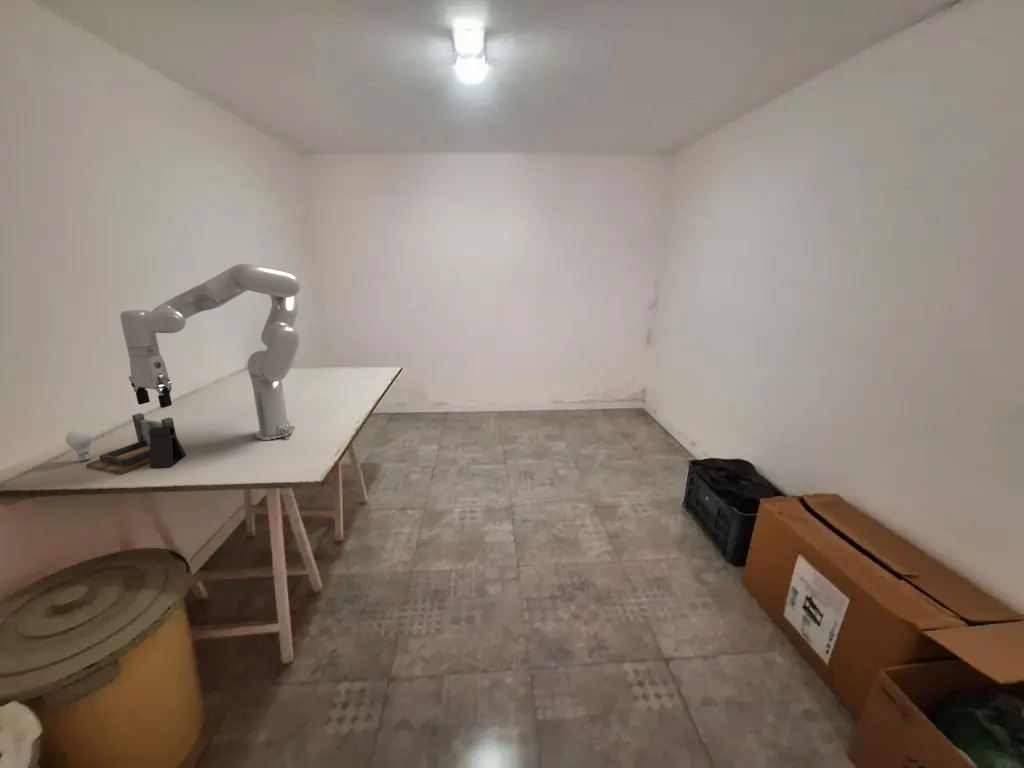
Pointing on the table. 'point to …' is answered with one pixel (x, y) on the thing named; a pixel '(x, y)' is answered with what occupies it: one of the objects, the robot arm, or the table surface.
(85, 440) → the lightbulb
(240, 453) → the table surface
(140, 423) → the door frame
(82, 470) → the table surface
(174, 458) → the phone stand
